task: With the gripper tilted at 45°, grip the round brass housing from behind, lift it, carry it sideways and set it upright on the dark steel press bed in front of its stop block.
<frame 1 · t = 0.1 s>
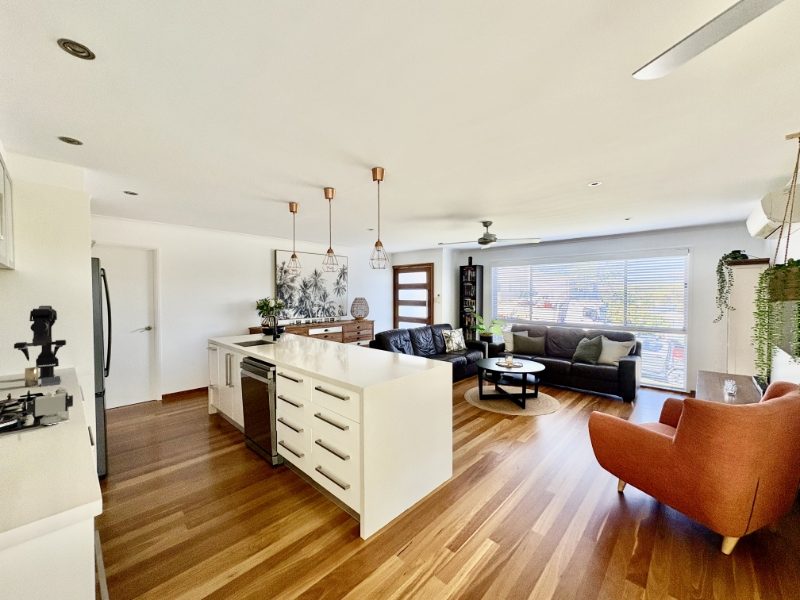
hand: (41, 359, 174), 15 cm above the worktop, tool pointing down, fingers open, 9 cm apart
press bed: (51, 383, 179), on the worktop
brass housing: (31, 385, 175), on the worktop
pneumatic valve: (50, 424, 122), on the worktop
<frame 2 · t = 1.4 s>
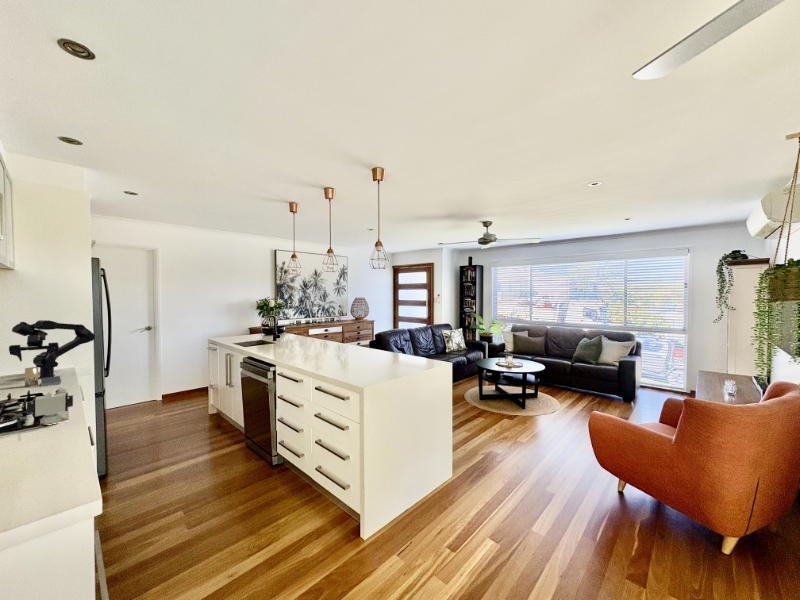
hand: (33, 360, 180), 13 cm above the worktop, tool tilted 45°, fingers open, 9 cm apart
nothing on the worktop moved.
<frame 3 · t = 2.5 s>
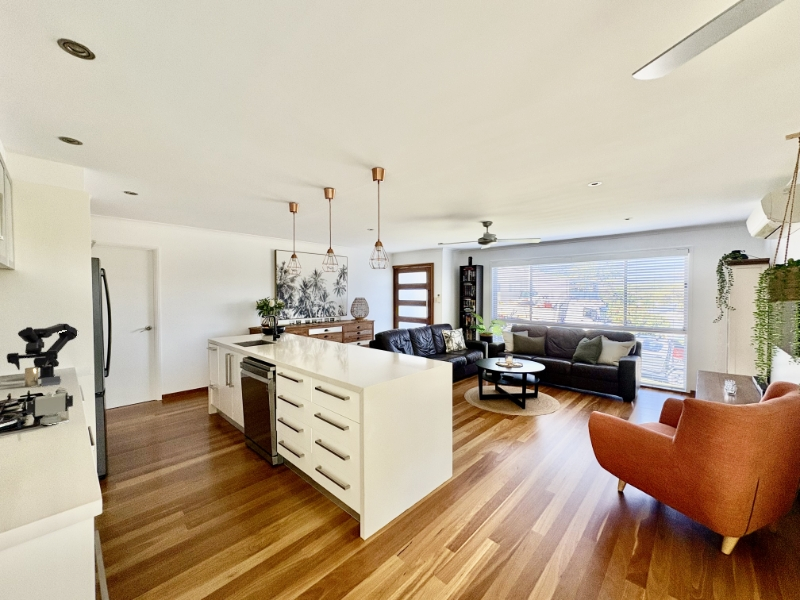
hand: (31, 368, 176), 9 cm above the worktop, tool tilted 45°, fingers open, 9 cm apart
nothing on the worktop moved.
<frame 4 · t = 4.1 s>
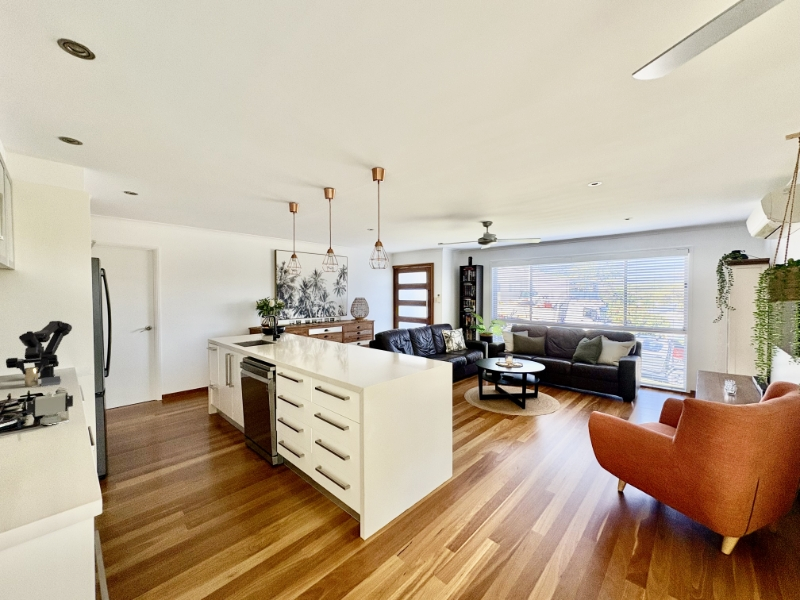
hand: (31, 373, 174), 7 cm above the worktop, tool tilted 45°, fingers closed on brass housing, 5 cm apart
brass housing: (31, 385, 175), on the worktop, touching gripper
everything else where it was.
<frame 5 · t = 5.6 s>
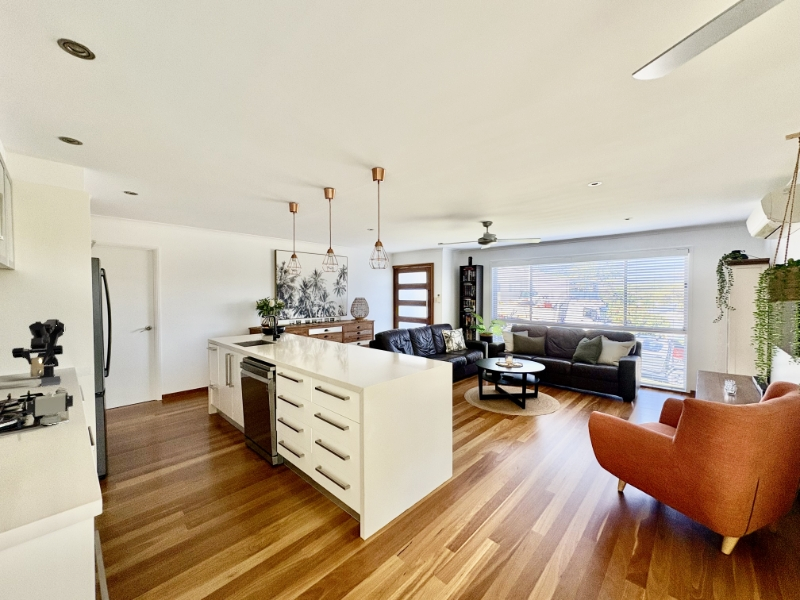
hand: (36, 363, 175), 12 cm above the worktop, tool tilted 45°, fingers closed on brass housing, 5 cm apart
brass housing: (37, 375, 176), point 5 cm above the worktop, touching gripper
everything else where it was.
when the fingers open (9 cm above the worktop, at t = 7.1 s): brass housing stays where it is, resting on press bed.
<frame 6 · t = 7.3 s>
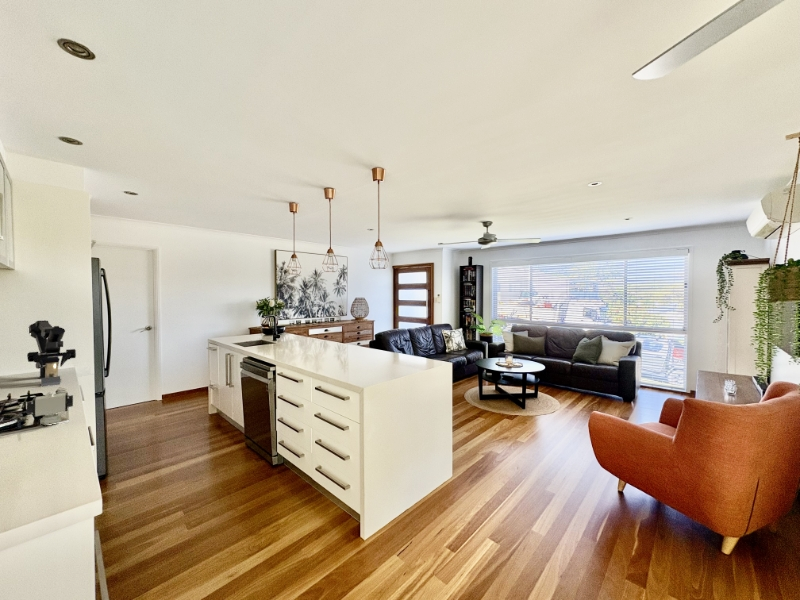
hand: (51, 367, 179), 10 cm above the worktop, tool tilted 45°, fingers open, 7 cm apart
brass housing: (51, 380, 180), point 2 cm above the worktop, touching press bed
everything else where it was.
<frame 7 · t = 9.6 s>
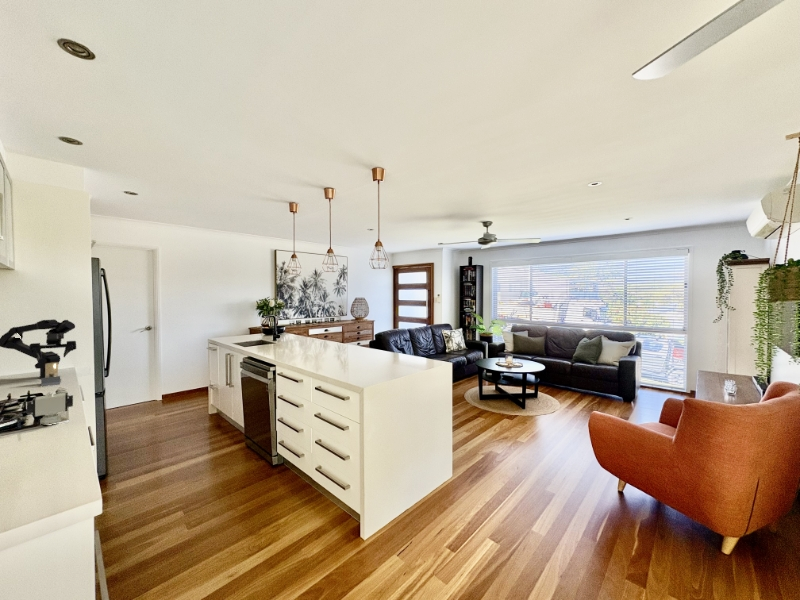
hand: (52, 357, 185), 14 cm above the worktop, tool tilted 45°, fingers open, 9 cm apart
nothing on the worktop moved.
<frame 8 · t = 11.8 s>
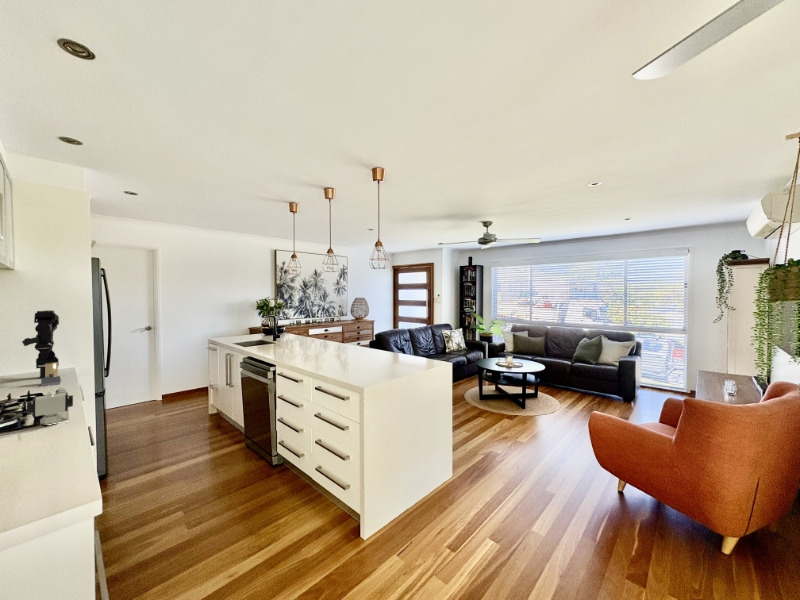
hand: (44, 358, 185), 13 cm above the worktop, tool pointing down, fingers open, 9 cm apart
nothing on the worktop moved.
at the end: brass housing 0.4 cm off-centre on the press bed, point 1.5 cm above the press bed's base; brass housing tilted 1°; the gripper is holding nothing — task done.
